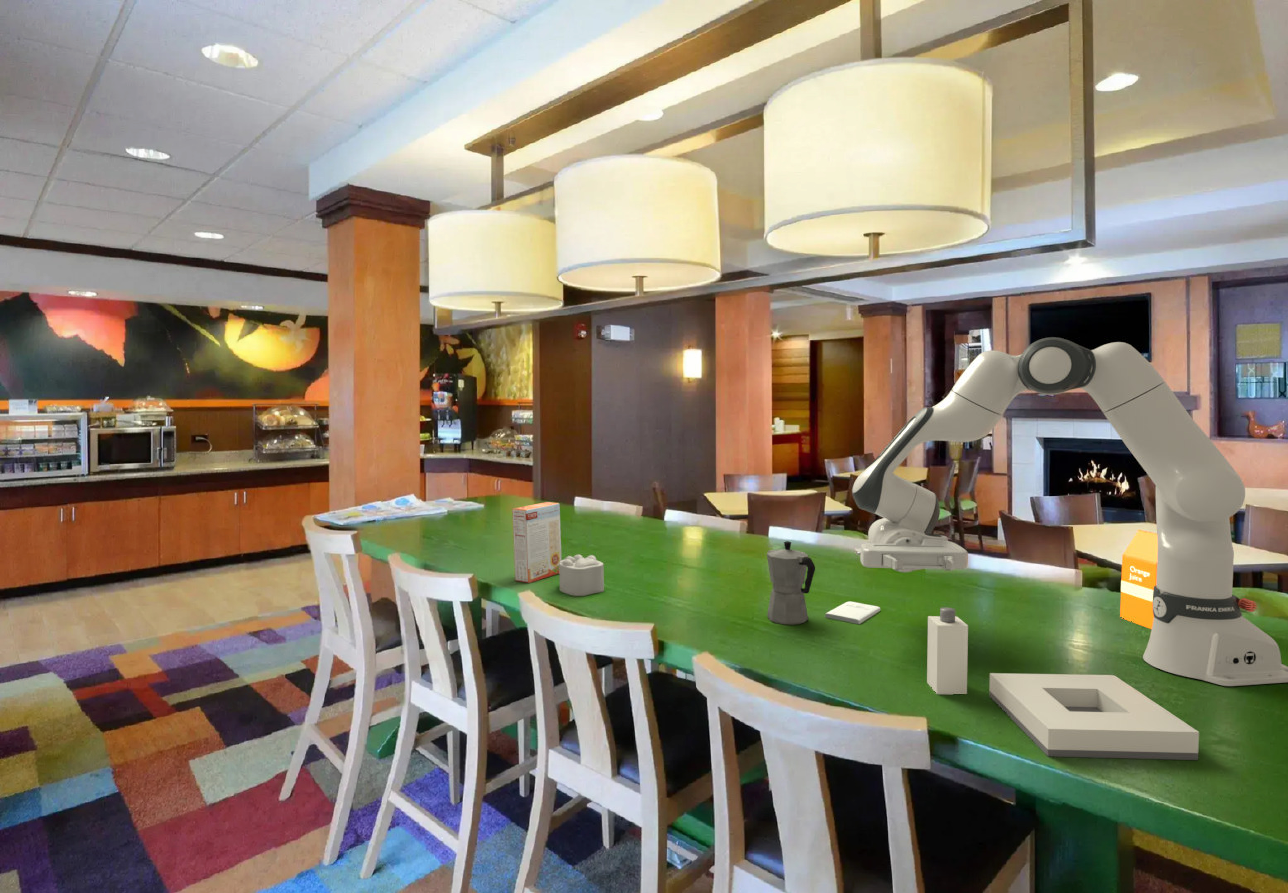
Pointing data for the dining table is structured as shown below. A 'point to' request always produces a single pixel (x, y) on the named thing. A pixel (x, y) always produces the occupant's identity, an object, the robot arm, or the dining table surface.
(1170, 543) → the robot arm
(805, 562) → the coffeepot
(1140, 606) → the orange juice
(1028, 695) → the socket block
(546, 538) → the cracker box
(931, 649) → the plug
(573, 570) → the lumpy-topped squat cylinder
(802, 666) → the dining table surface
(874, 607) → the external hard drive
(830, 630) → the dining table surface
